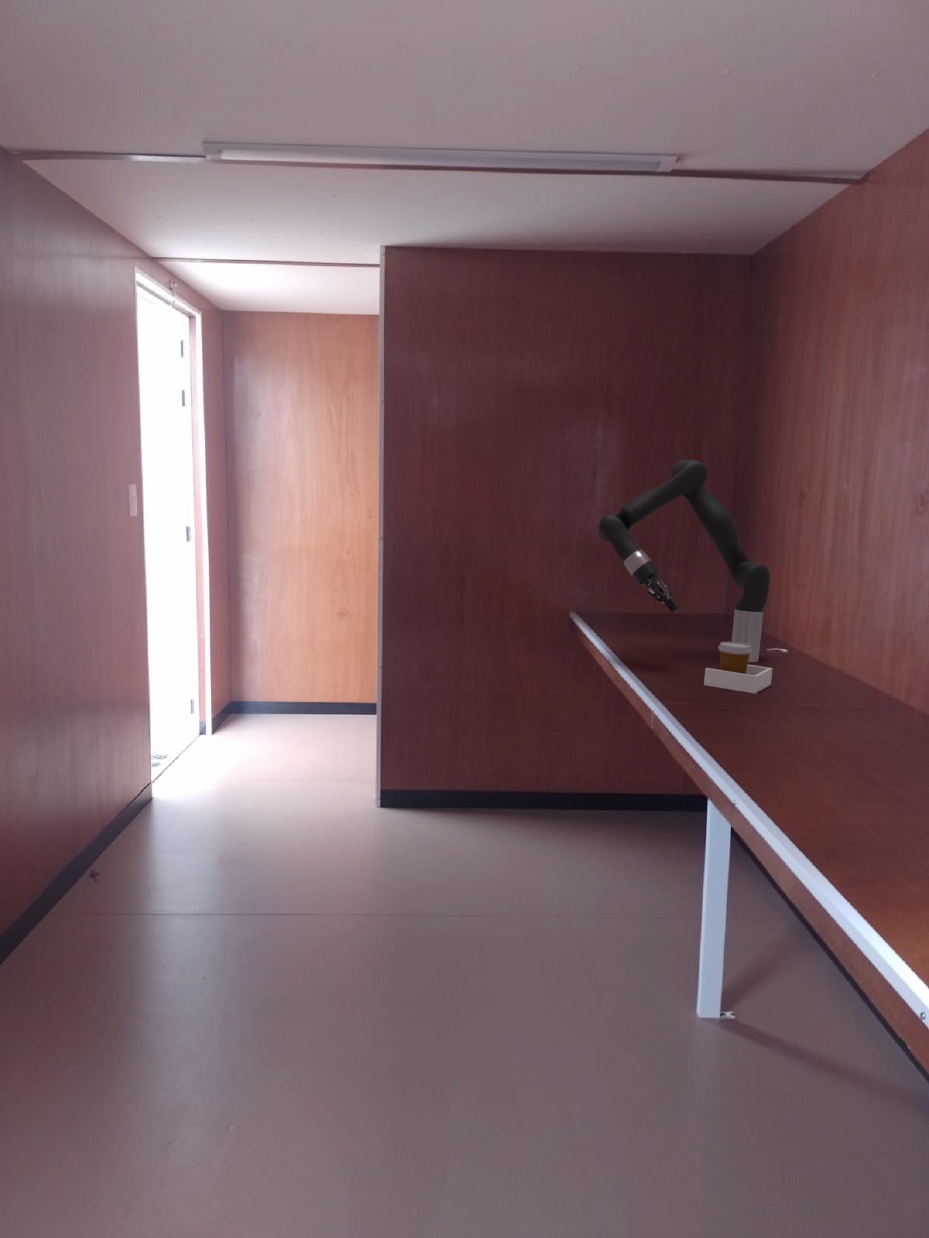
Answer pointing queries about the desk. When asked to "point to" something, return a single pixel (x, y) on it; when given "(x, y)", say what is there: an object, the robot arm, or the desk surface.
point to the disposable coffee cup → (734, 656)
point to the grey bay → (740, 679)
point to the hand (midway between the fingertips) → (675, 610)
